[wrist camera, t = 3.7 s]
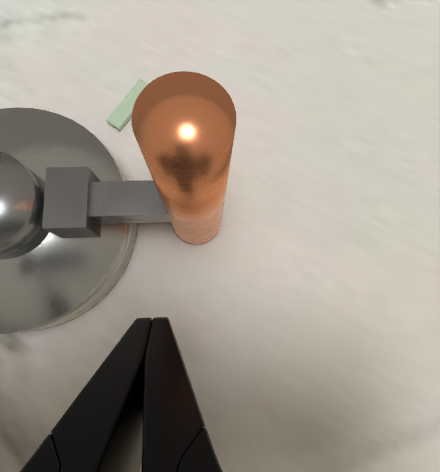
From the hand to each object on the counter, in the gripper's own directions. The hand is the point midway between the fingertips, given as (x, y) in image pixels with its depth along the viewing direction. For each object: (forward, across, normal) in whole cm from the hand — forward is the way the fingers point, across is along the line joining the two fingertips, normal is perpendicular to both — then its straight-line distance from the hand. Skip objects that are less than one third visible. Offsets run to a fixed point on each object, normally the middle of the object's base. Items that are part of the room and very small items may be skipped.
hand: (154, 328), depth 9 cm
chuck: (+9, +7, +2) cm, 11 cm away
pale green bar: (+13, +2, -2) cm, 14 cm away
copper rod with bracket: (+8, +1, +2) cm, 9 cm away
